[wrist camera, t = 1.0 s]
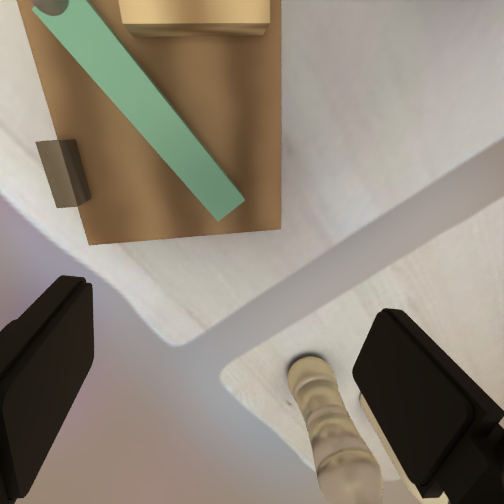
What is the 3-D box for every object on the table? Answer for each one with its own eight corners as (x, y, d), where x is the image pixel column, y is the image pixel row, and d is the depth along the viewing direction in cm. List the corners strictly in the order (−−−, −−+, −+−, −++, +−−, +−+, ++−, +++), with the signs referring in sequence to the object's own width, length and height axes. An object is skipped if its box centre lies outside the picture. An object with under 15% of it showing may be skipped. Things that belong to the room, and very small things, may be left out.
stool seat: (273, -5, 24) (291, -43, 19) (275, 220, 32) (288, 239, 27) (31, -6, 22) (-28, -50, 17) (97, 234, 30) (73, 258, 25)
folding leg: (40, 7, 20) (13, -11, 17) (69, -24, 20) (47, -49, 17) (217, 212, 28) (218, 221, 25) (241, 193, 27) (245, 200, 24)
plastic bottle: (311, 388, 44) (382, 570, 26) (275, 375, 42) (325, 563, 24) (336, 358, 42) (431, 532, 24) (300, 343, 40) (375, 521, 22)
